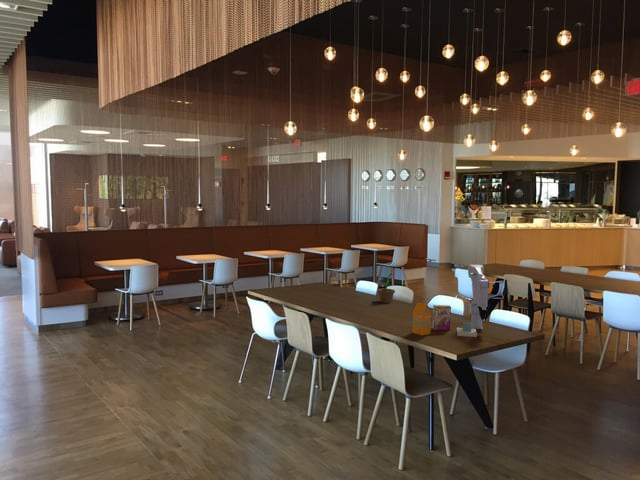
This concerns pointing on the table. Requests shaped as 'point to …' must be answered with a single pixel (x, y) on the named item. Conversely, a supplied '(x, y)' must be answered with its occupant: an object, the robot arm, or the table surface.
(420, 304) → the orange juice
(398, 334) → the table surface
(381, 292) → the flowerpot
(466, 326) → the teal cube
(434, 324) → the candy bar box
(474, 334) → the grey plinth
